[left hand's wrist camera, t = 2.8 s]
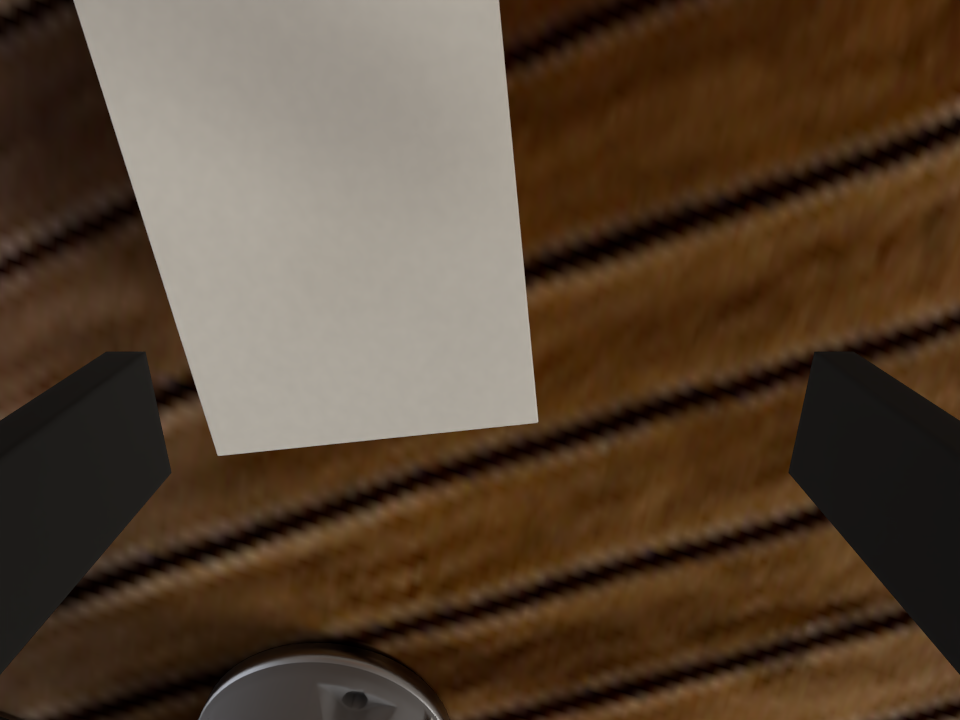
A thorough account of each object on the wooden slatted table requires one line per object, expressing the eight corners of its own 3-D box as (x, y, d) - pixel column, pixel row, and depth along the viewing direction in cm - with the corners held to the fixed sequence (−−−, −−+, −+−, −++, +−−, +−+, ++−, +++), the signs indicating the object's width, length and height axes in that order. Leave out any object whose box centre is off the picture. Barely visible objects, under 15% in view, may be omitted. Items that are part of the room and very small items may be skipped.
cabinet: (162, -167, 22) (-35, -338, 13) (468, -214, 21) (459, -420, 13) (292, 357, 29) (217, 456, 21) (521, 331, 29) (538, 423, 20)
